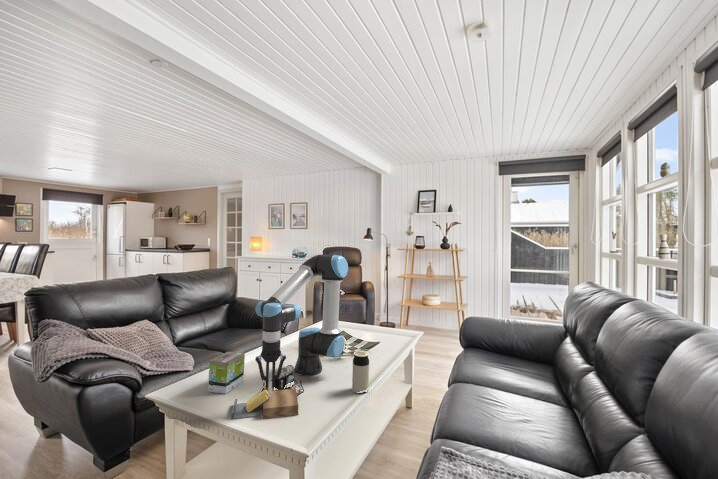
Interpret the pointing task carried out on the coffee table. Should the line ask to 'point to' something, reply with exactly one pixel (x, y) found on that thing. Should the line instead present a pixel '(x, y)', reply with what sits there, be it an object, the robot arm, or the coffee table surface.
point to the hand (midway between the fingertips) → (269, 395)
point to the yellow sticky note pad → (257, 401)
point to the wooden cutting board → (281, 404)
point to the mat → (245, 411)
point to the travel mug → (360, 371)
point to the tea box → (226, 372)
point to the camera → (284, 377)
